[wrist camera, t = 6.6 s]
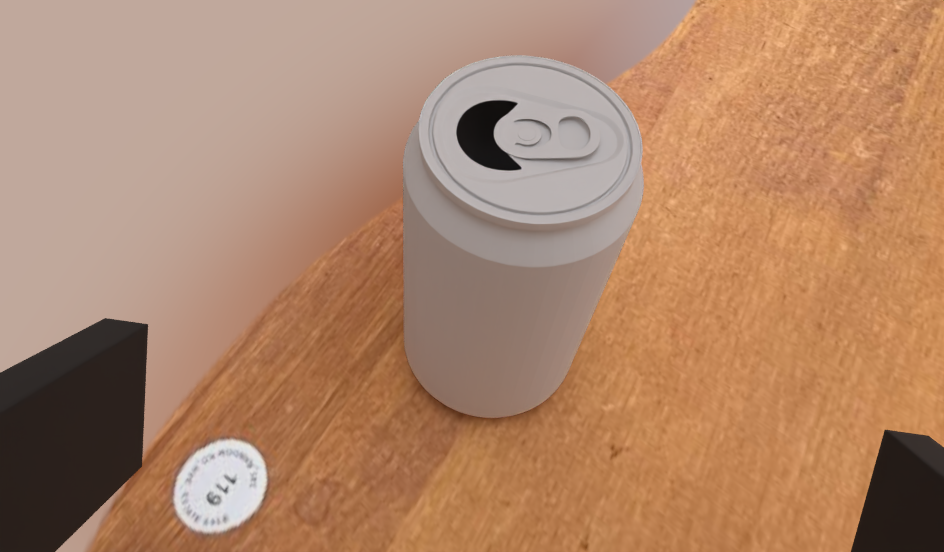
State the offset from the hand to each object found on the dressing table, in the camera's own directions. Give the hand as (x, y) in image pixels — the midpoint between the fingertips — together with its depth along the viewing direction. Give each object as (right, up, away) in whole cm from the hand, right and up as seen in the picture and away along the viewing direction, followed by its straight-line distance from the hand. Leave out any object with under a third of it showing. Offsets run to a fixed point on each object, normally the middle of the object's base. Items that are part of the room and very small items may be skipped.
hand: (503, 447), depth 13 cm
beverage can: (0, 0, +16) cm, 16 cm away
